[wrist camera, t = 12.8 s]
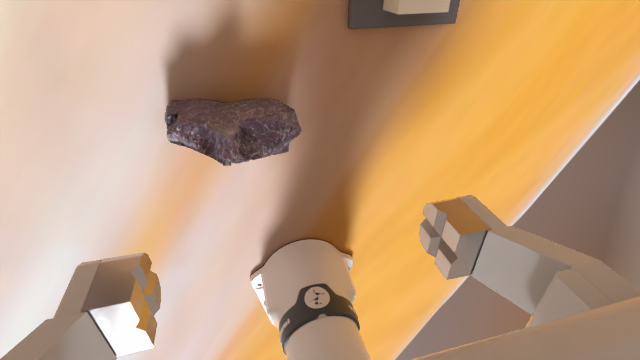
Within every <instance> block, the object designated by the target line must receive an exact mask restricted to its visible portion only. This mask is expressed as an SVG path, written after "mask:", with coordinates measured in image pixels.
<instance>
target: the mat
mask: <svg viewBox="0 0 640 360" xmlns="http://www.w3.org/2000/svg"><path fill="white" fill-rule="evenodd" d="M459 2H460V0H450V5H449V11H448V12H441V13H419V14H395V13H392V12H389V11H385V10H383V4H384V0H349V20H348V28H350V29H358V28H377V27H396V26H415V25H434V24H454V23H455V22H456V17H457V12H458V7H459Z"/></svg>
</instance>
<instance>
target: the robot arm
mask: <svg viewBox="0 0 640 360" xmlns="http://www.w3.org/2000/svg"><path fill="white" fill-rule="evenodd" d="M423 215H424V216H425V217H426V219H425V220H424V221H423V222H422V223H421V224H420V230H419V235H420V241H421V243H422V246H423V248H424V249H425V250H426V252H427V253H428V254H430V255H432V256H434V257H435V265H436V266H437V267H438V269H439V270H440V271H441V273H442V274H443V276H444V277H445V278H446V280H448V279H453V278H458V277H463V276H468V275H472V277H474V278H476V279H477V280H478V281H480V282H481V283H483V284H484V285H486V286H488V287H489V288H491V289H492V290H494V291H495V292H497V293H498V294H500V295H502V296H503V297H505V298H506V299H508V300H509V301H511V302H513V303H514V304H516V305H517V306H519V307H521V308H522V309H523V310H525V311H527V312H528V313H530V314H531V315H532V316H531V318H530V320H529V322H528V323H527V325H526V328H524V329H520V330H517V331H513V332H509V333H506V334H502V335H499V336H495V337H491V338H488V339H484V340H480V341H477V342H473V343H470V344H466V345H462V346H459V347H455V348H452V349H448V350H445V351H441V352H437V353H434V354H430V355H426V356H423V357H419V358H416V359H412V360H640V291H638V290H637V289H636V288H634V287H633V286H632V285H630V284H629V283H628V282H627V281H626V280H624V279H623V278H622V277H620V276H619V275H618V274H617V273H615V272H614V271H613V270H612V269H610V268H609V267H608V266H607V265H605V264H604V263H603V262H601V261H600V260H597V259H595V258H593V257H590V256H588V255H585V254H582V253H580V252H577V251H575V250H572V249H569V248H567V247H564V246H562V245H560V244H556V243H554V242H552V241H549V240H547V239H544V238H542V237H539V236H537V235H534V234H531V233H529V232H526V231H524V230H521V229H519V228H516V227H514V226H509V227H507V226H506V225H505V224H504V223H503V222H502V221H501V220H500V219H499V218H498V217H497V216H495V215H494V214H493V213H492V212H491V211H490V210H489V209H488V208H487V207H486V206H485V205H483V204H482V203H481V202H480V201H479V200H478V199H477V198H476V197H474V196H472V195H468V196H463V197H457V198H453V199H448V200H442V201H437V202H431V203H427V204H426V205H425V207H424V210H423ZM151 264H152V262H151V260H150V258H149V256H148V254H146V253H140V254H133V255H127V256H120V257H113V258H107V259H103V260H97V261H90V262H83V263H81V264H80V265H79V266H77V268H76V270H75V272H74V274H73V276H72V278H71V281H70V283H69V285H68V287H67V289H66V292H65V294H64V296H63V298H62V300H61V302H60V305H59V307H58V309H57V311H56V313H55V316H54V318H52V319H48V320H45V321H44V322H43V323H42V324H41V325H40V326H38V327H37V328H36V329H35V330H34V331H33V332H31V333H30V334H29V335H28V336H27V337H26V338H24V339H23V340H22V341H21V342H20V343H19V344H17V345H16V346H15V347H14V348H13V349H12V350H10V351H9V352H8V353H7V354H6V355H5V356H3V357H2V358H1V359H0V360H116V359H117V358H116V357H117V356H121V355H125V354H129V353H132V352H136V351H140V350H144V349H148V348H152V347H153V345H154V339H155V333H156V327H157V322H156V320H155V318H154V315H155V313H156V312H157V311H158V310H159V309H160V302H161V288H160V283H159V279H158V277H157V274H155V273H153V272H151V271H150V268H151ZM352 265H353V259H352V257H351V256H350V255H348V254H345V253H342V252H340V251H338V250H337V249H336V248H335V247H334V246H333V245H331V244H330V243H328V242H325V241H322V240H314V239H308V240H301V241H296V242H293V243H290V244H288V245H286V246H284V247H282V248H280V249H279V250H277V251H276V252H275V253H274V254H273V255H272V256H271V257H270V258H269V259H268V260H267V262H266V263H265V265H264V266H263V267H262V268H261V269H259V270H258V271H256V272H255V273H254V274H252V275H251V277H250V281H251V284H252V286H253V288H254V290H255V292H256V294H257V296H258V298H259V300H260V302H261V304H262V306H263V308H264V310H265V312H266V314H267V315H268V317H269V319H270V321H271V323H272V324H273V325H275V326H276V327H277V329H278V330H279V332H280V341H281V345H282V347H283V351H284V353H285V354H286V355H287V359H288V360H371V358H370V356H369V354H368V352H367V349H366V347H365V345H364V342H363V340H362V337H361V335H360V332H359V330H360V326H359V322H358V317H357V314H356V312H355V310H354V308H353V306H352V303H353V302H354V299H355V296H356V290H355V287H354V284H353V282H352V279H351V276H350V271H351V268H352Z"/></svg>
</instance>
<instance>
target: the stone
mask: <svg viewBox="0 0 640 360" xmlns="http://www.w3.org/2000/svg"><path fill="white" fill-rule="evenodd" d="M165 122H166V124H167V129H168V130H167V138H168V140H169V141H170V142H171V143H174V144H177V145H179V146H185V147H188V148H191V149H193V150H195V151H198V152H200V153H202V154H205V155H207V156H209V157H211V158H213V159H215V160H217V161H218V162H220V163H221V164H223V165H224V166H231V163H236V164H237V163H241V162H247V161H249V160H251V159H252V160H255V159H259V158H263V157H267V156H270V155H276V154H281V153H285V152H288V151H289V143H290V141H291V140H292V139H294V138H295V137H297V136H298V135H299V134H300V132H301V128H300V126H299V124H298V121H297V117H296V113H295V111H294V109H292V108H290V107H289V106H287V105H285V104H283V103H282V102H280V101H278V100H275V99H250V100H249V99H248V100H242V101H240V102H234V103H221V102H216V101H211V100H206V99H190V100H186V101H181V100H174V101H171V102H170V103H169V104H168V106H167V108H166V113H165Z"/></svg>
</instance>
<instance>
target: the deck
mask: <svg viewBox="0 0 640 360" xmlns="http://www.w3.org/2000/svg"><path fill="white" fill-rule="evenodd" d="M449 5H450V0H384V4H383V10H385V11H389V12H392V13H395V14H419V13H441V12H448V11H449Z"/></svg>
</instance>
